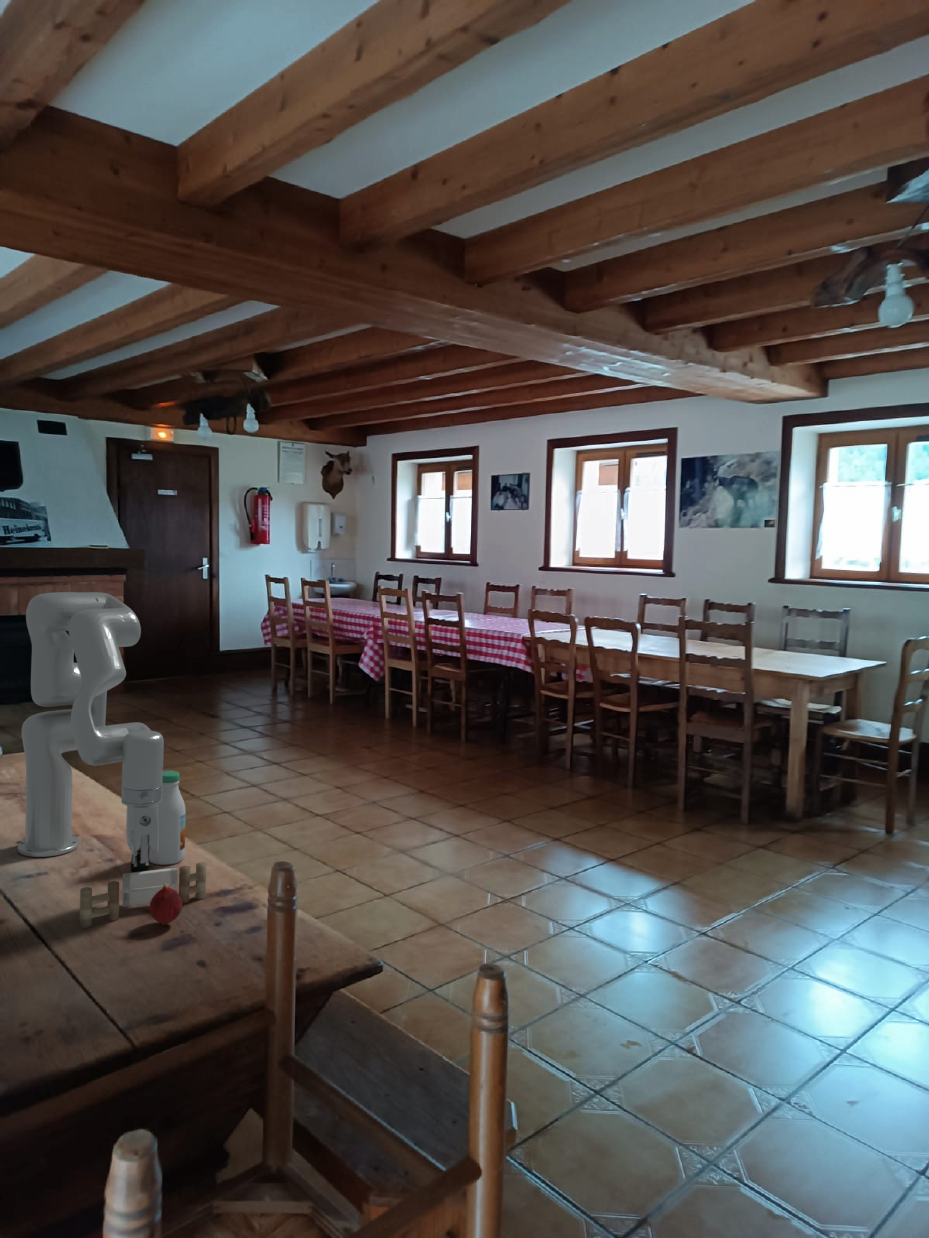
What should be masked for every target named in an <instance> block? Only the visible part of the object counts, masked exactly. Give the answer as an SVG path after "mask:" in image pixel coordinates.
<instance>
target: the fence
mask: <svg viewBox="0 0 929 1238" xmlns="http://www.w3.org/2000/svg"><path fill="white" fill-rule="evenodd" d="M178 870H179V871H178V872H179V875H178V894H179V896H180V898H181V900H182V904H187V903H189V902H190V895H192V894H194V896H195V897H194V898H195V899H196V900H204V899H205V898H206V891H207V890H206V889H207V888H206V887H207V863H206V862H204V861H200V862H197V863H196V864H195V873H194V872H192V873H191V867H190V866H189V865H182V866H179V869H178ZM191 882H195V885H191V886H190V883H191ZM79 891H80V892H79V928H82V929H87V928H90V927H91V926H92V919H93V918H94V919H95V918H97V917H102V916H106V917H107V918H106V920H107V922H108V921H109V922H116V921H117V920H119V917H120V916H119V914H120V913H119V912H120V882H119V881H116V880H114V881H109V882H108V883H107V892H105V893H100V894H96V895H93V888H92V887H88V886H87V887H86V886H85V887H81V888H80V890H79ZM105 902H107V905H105V906H102V907H98V908H93V907H92V906H93V905H95V904H102V903H105Z"/></svg>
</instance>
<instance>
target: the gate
mask: <svg viewBox="0 0 929 1238" xmlns="http://www.w3.org/2000/svg"><path fill="white" fill-rule="evenodd" d="M164 883H166V884H168V886H169V887H170V888H172V889H174V890H176V891H177V892H178V868H177V867H169V868H162V869H153V870H149V871H143V872H134V873H130V872H127V873H123V874H122V900H121V901H122V903H121V905H122V907H123V908H125V907H132V906H133V907H134V906H142V905H148V904H149V905H150V902H151V900H152V898H153V897H154V895H155V894H156V893H157V892H158V891H159V890H161V889H162V888H163V886H164Z"/></svg>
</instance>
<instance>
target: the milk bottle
mask: <svg viewBox="0 0 929 1238" xmlns="http://www.w3.org/2000/svg"><path fill="white" fill-rule="evenodd" d="M180 776H181V775H180V772H178V771H175V770H165V771H164V770H163V781H162V801H161V802H160V803H158V804H157V806H158V823H159V851H158V853H157V854H155V853H153V852H152V850H151V848H150V849H149V863H152V864H154V865H159V866H168V865H175V864H178V863H180V862H182V861H183V860H184V858H185V853H186V850H185V848H186V822H187V821H186V817H187V816H186V804H185V801H184V799H183V796H182V793H181V791H180V789H179V788H180V787H179V784H180Z"/></svg>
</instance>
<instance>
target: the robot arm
mask: <svg viewBox="0 0 929 1238" xmlns="http://www.w3.org/2000/svg"><path fill="white" fill-rule="evenodd" d="M25 611H26V612H25V621H26V627H27V631H28V635H29V638H30V642H31V665H30V667H31V668H30V671H31V672H30V695H31V698H32V701H33V703H34V704H36V705H37V706H40V707H50V708H51V707H61V706H71V705H72V708H71V709H69V708H68V709H60V710H59V709H56V710H49V711H43V712H39V713H34V714H33V715H30V716H29V717H28V718H26V720H25V721H23V723H22V727H21V740H22V745H23V751H24V758H25V836H24V837H25V838H24V839H23V840H21V841H20V842H19V843H18V844H17V852H18V853H19V854H21V855H22V856H26V857H34V858H45V857H46V858H47V857H55V856H60V855H63V854H68V853H70V852H73V851H74V850H75V849H76V848H77V847H78V846H79V844H80V843H79V842H80V841H79V838H78V837H77V836H75V835H73V834H72V828H73V827H72V822H73V821H72V819H73V817H72V816H73V815H72V814H73V813H72V812H73V811H72V810H73V771H72V767H71V765H70V764H69V762H68V761H67V760H66V759H64V757H63V756H62V755H63V753H66V752H67V753H68V752H72V751H77V753H78V755H79V756H80V759H81V760H82V761H83V762H84V763H85V764H87V765H90V766H103V765H108V764H115V763H120V762H122V768H121V769H122V770H121V796H120V797H121V799H120V800H121V804H122V805H125V806H126V820H125V821H126V823H125V824H126V825H125V826H126V827H125V828H126V829H125V830H126V831H125V832H126V833H125V834H126V836H125V837H126V842H127V846H128V847H129V850H130V852H131V853H130V854H131V855H130V856H131V861H130V862H131V863H130V871H129V873H134V872H143V871H150V864H149V863H150V861H149V849H150V848H151V850H152V852H153V853H155V854H157V853H158V851H159V823H158V806H157V804H158V803H160V802H161V801H162V781H163V772H164V749H165V748H164V747H165V745H164V743H165V741H164V737H163V735H162V733H160V732H158V731H155V730H151V728H149V726H147V725H146V724H144V723H143V722H127V723H117V724H110V725H106V719H107V718H106V716H107V696H108V695H107V693H108V691H109V690H112V688H115V687H116V686H118V685H119V684H121V683H122V682H123V681H124V680H125V678H126V676H127V671H126V667H125V664H124V661H123V658H122V654H121V652H120V651H121V650H120V648H123V647H124V648H125V647H126V648H127V647H133V646H134V645H136V644H137V643H138V642H139V640H140V639H141V635H142V634H141V633H142V630H141V629H142V627H141V624H140V620H139V618H138V616H137V615H136V613H135V612H134V611H133V609H131V608H130V607H129V606H128V605H126V604H125V603H123V602H122V601H120V600H119V599H118V598H116V597H114V596H113V595H111V594H110V593H107V592H106V593H105V592H100V591H99V592H98V591H97V592H96V591H95V592H94V591H92V592H90V591H89V592H83V591H82V592H79V591H77V592H75V591H70V592H69V591H63V592H62V591H61V592H60V591H59V592H57V591H56V592H45V593H40V594H36V595H34V597H32V598H31V599H30V601H29V602H28V605H27V607H26V610H25ZM74 656H75V657H74ZM74 658H75V659H74ZM75 660H76V662H75Z"/></svg>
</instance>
